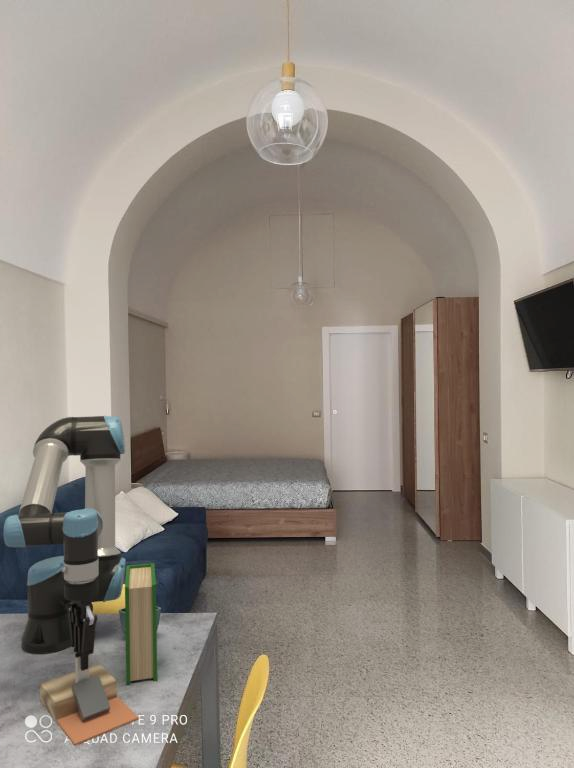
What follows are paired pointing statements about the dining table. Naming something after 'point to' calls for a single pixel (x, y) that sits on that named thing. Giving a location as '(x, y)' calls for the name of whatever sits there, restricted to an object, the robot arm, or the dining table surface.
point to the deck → (60, 694)
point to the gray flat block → (90, 698)
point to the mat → (97, 722)
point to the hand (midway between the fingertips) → (82, 681)
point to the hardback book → (140, 622)
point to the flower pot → (122, 618)
